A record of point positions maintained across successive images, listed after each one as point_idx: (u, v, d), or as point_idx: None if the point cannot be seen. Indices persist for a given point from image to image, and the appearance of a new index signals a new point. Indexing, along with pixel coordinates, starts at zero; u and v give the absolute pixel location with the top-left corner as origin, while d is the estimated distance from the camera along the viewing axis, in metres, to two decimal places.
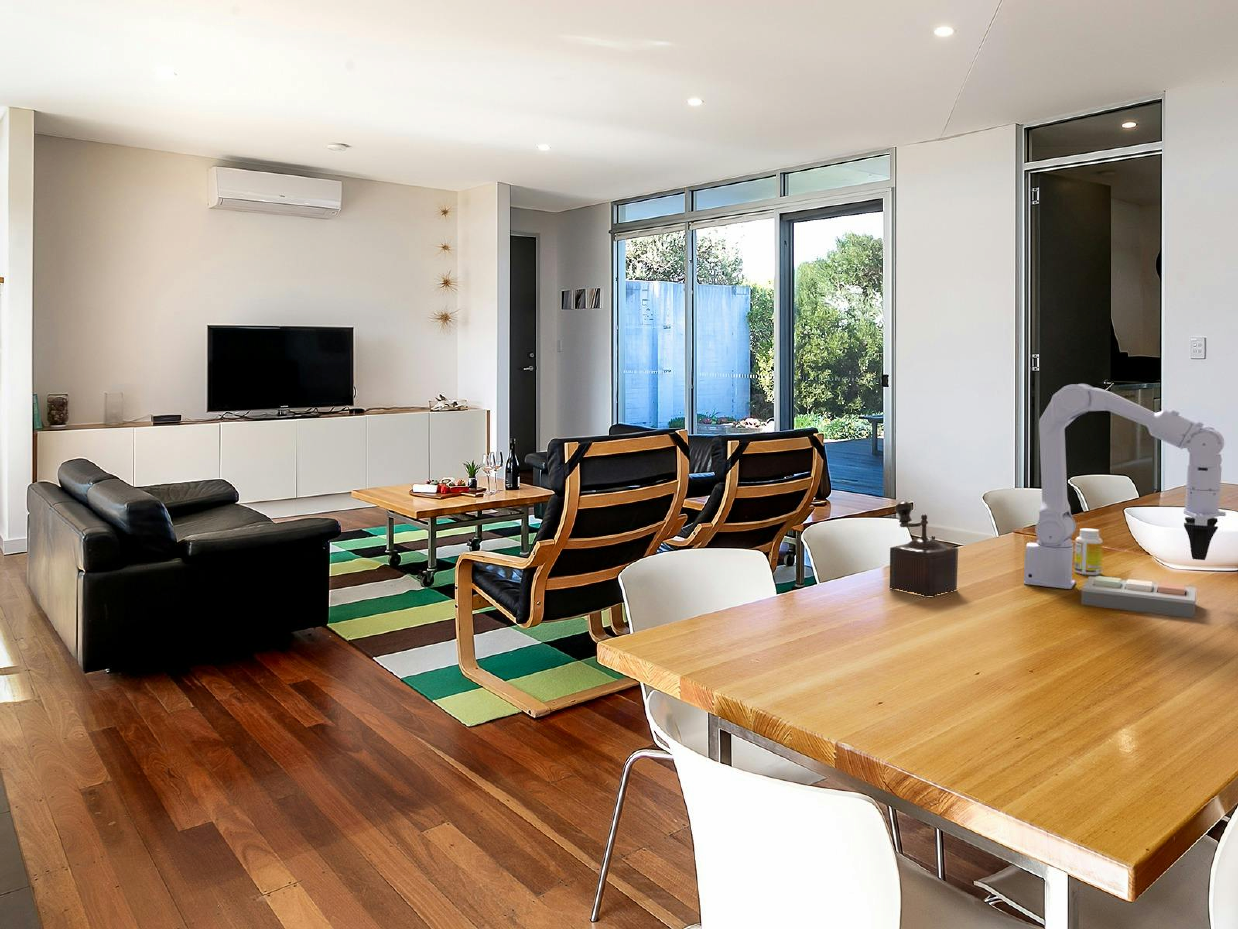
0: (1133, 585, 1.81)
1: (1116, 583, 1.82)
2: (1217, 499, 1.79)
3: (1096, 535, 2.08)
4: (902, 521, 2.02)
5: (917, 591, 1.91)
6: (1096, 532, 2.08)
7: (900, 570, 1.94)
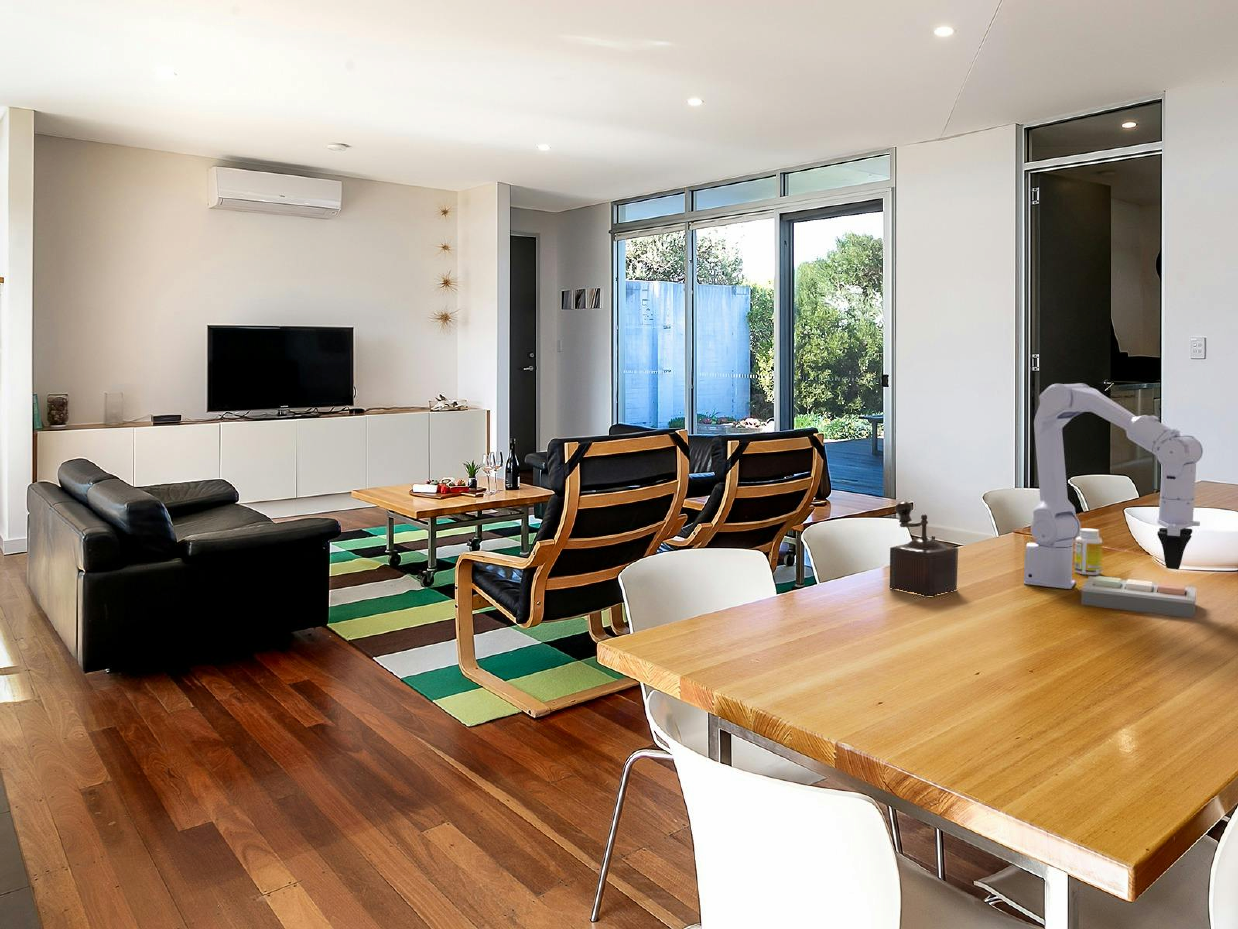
0: (1133, 585, 1.81)
1: (1116, 583, 1.82)
2: (1191, 509, 1.75)
3: (1096, 535, 2.08)
4: (902, 521, 2.02)
5: (917, 591, 1.91)
6: (1096, 531, 2.08)
7: (900, 570, 1.94)
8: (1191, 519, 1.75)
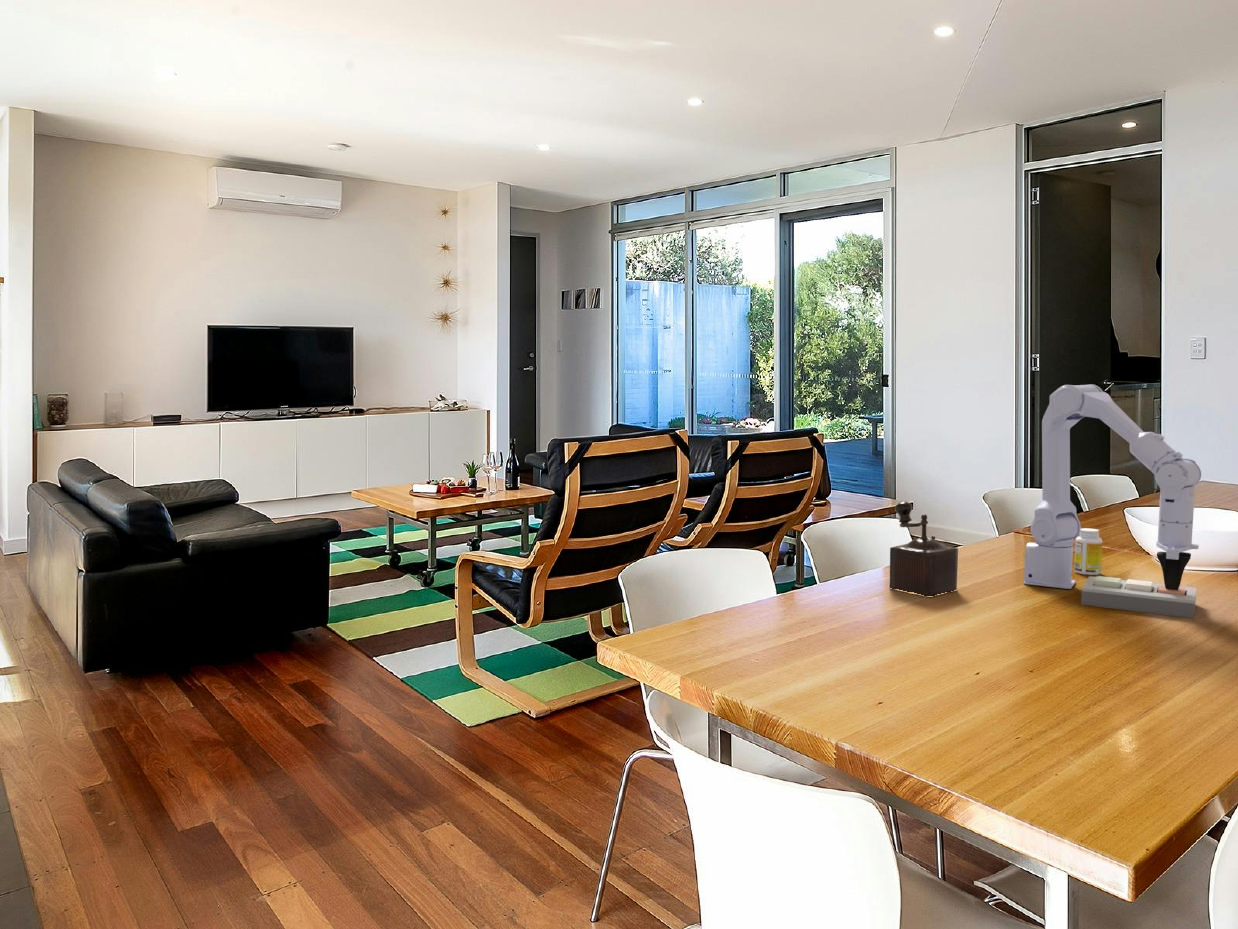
0: (1133, 585, 1.81)
1: (1116, 583, 1.82)
2: (1190, 532, 1.75)
3: (1096, 535, 2.08)
4: (902, 521, 2.02)
5: (917, 591, 1.91)
6: (1096, 531, 2.08)
7: (900, 570, 1.94)
8: (1190, 542, 1.76)
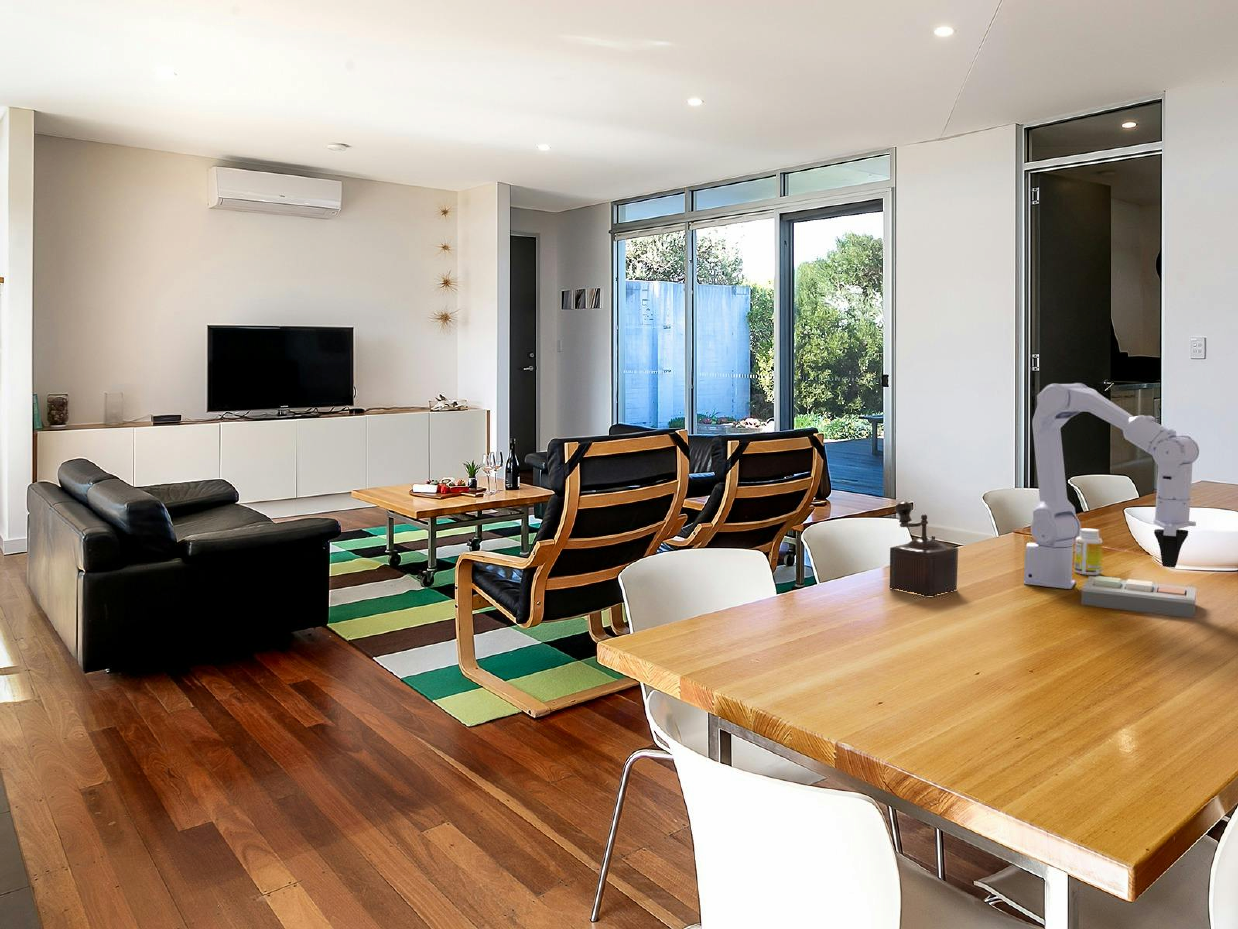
0: (1133, 585, 1.81)
1: (1116, 583, 1.82)
2: (1187, 509, 1.75)
3: (1096, 535, 2.08)
4: (902, 521, 2.02)
5: (917, 591, 1.91)
6: (1096, 531, 2.08)
7: (900, 570, 1.94)
8: (1187, 519, 1.76)
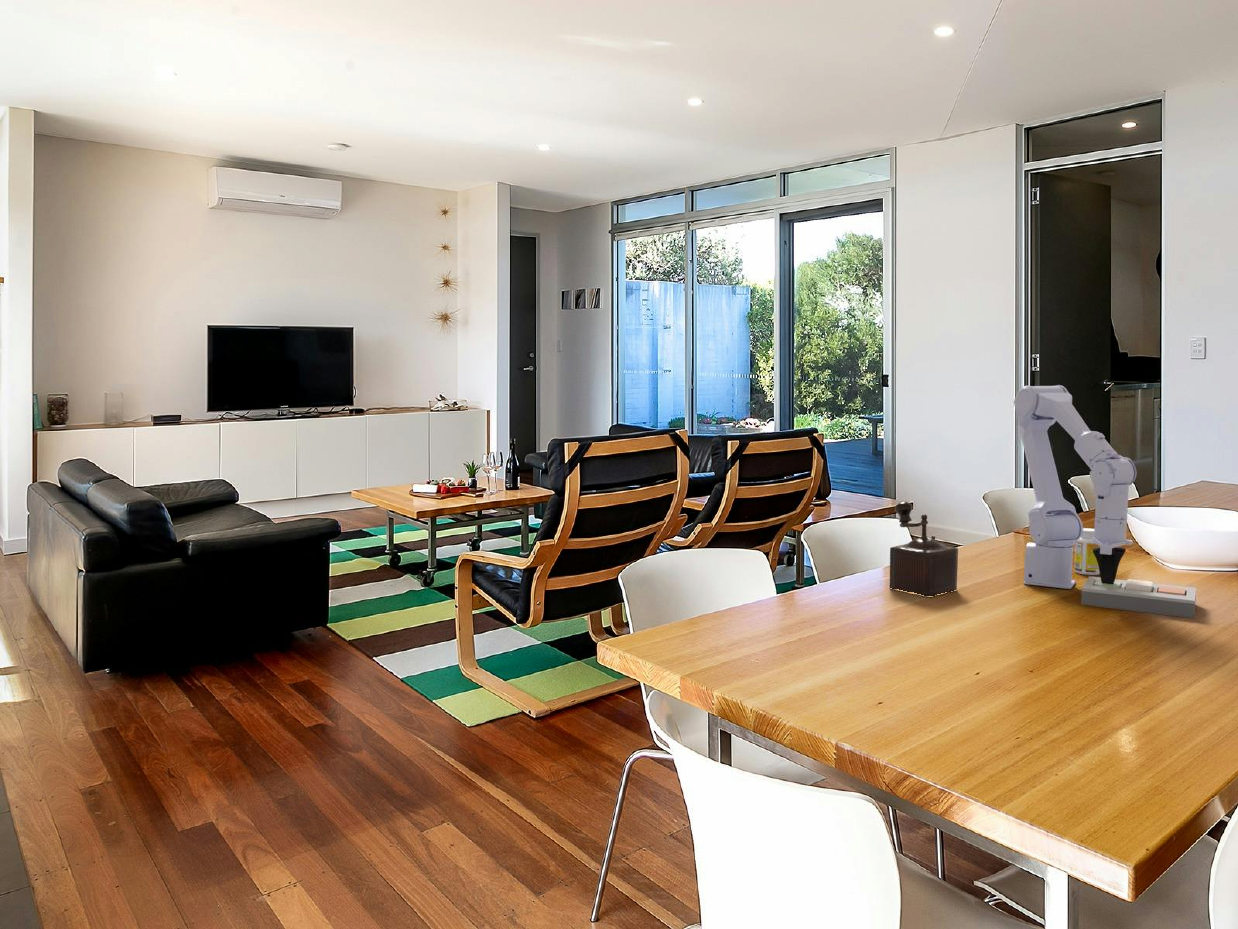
0: (1133, 585, 1.81)
1: (1116, 587, 1.83)
2: (1123, 528, 1.82)
3: None
4: (902, 521, 2.02)
5: (917, 591, 1.91)
6: None
7: (900, 570, 1.94)
8: (1124, 538, 1.82)
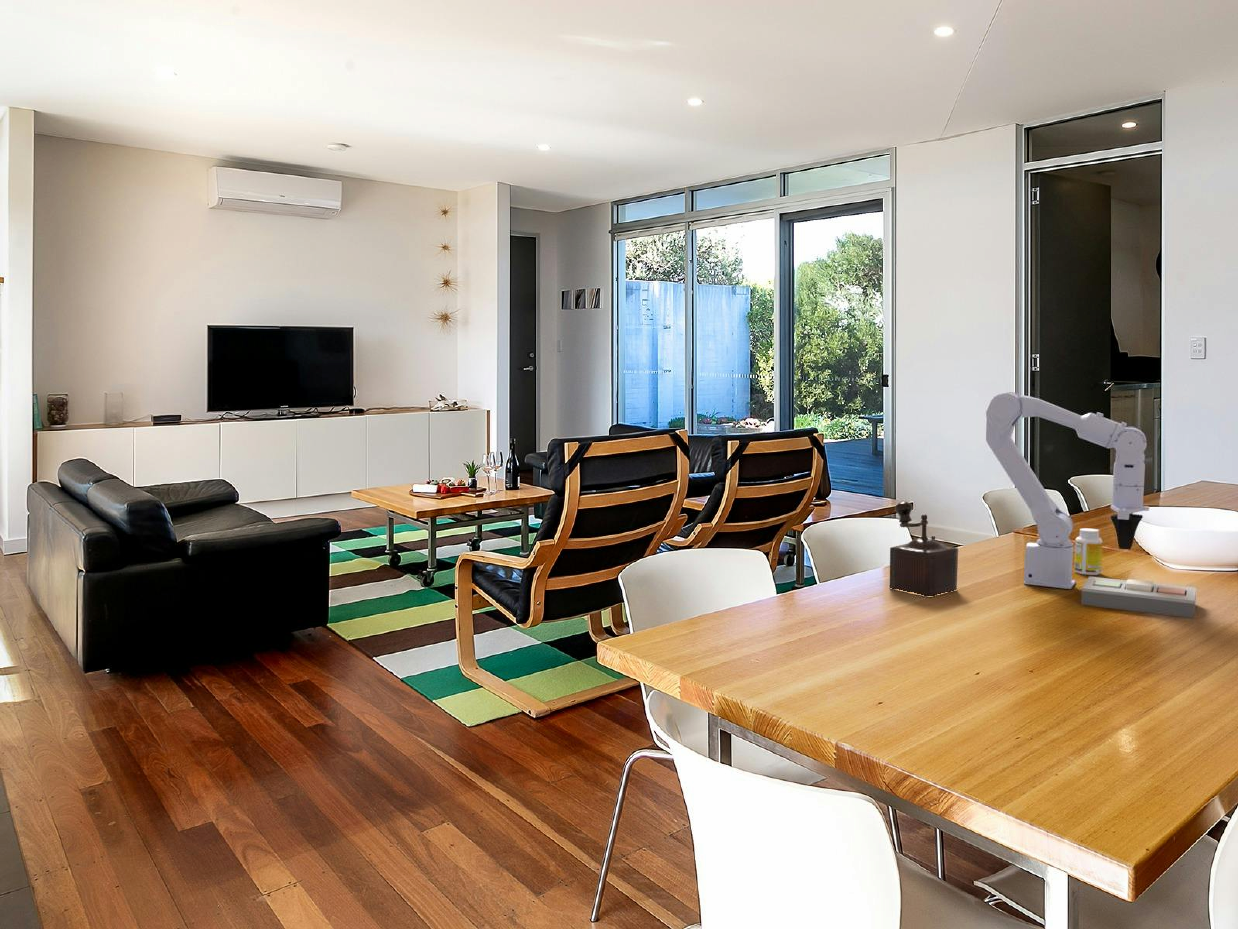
0: (1133, 585, 1.81)
1: (1116, 587, 1.83)
2: (1140, 494, 1.89)
3: (1096, 535, 2.08)
4: (902, 521, 2.02)
5: (917, 591, 1.91)
6: (1096, 532, 2.08)
7: (900, 570, 1.94)
8: (1141, 504, 1.89)
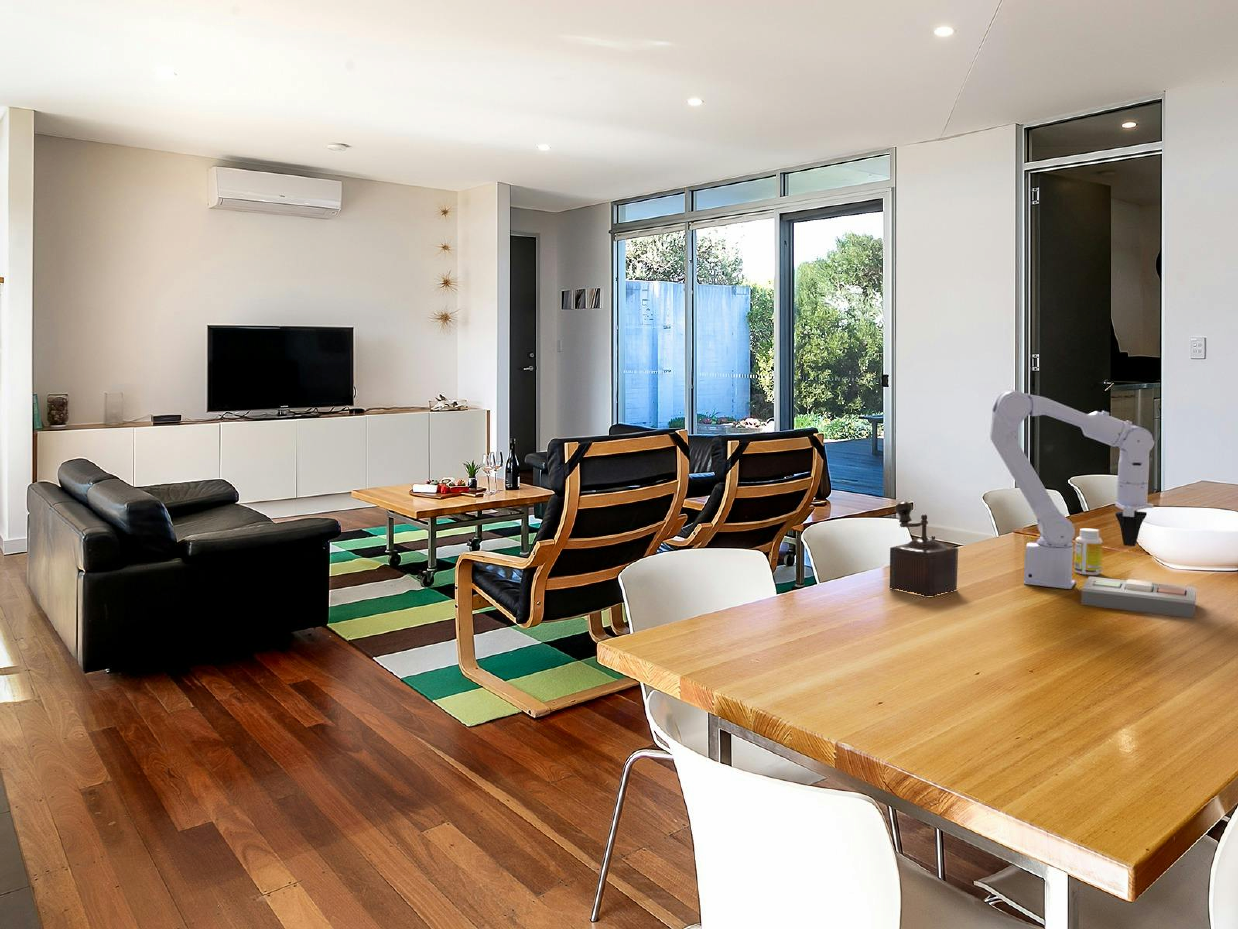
0: (1133, 585, 1.81)
1: (1116, 587, 1.83)
2: (1145, 492, 1.91)
3: (1096, 535, 2.08)
4: (902, 521, 2.02)
5: (917, 591, 1.91)
6: (1096, 532, 2.08)
7: (900, 570, 1.94)
8: (1145, 502, 1.92)
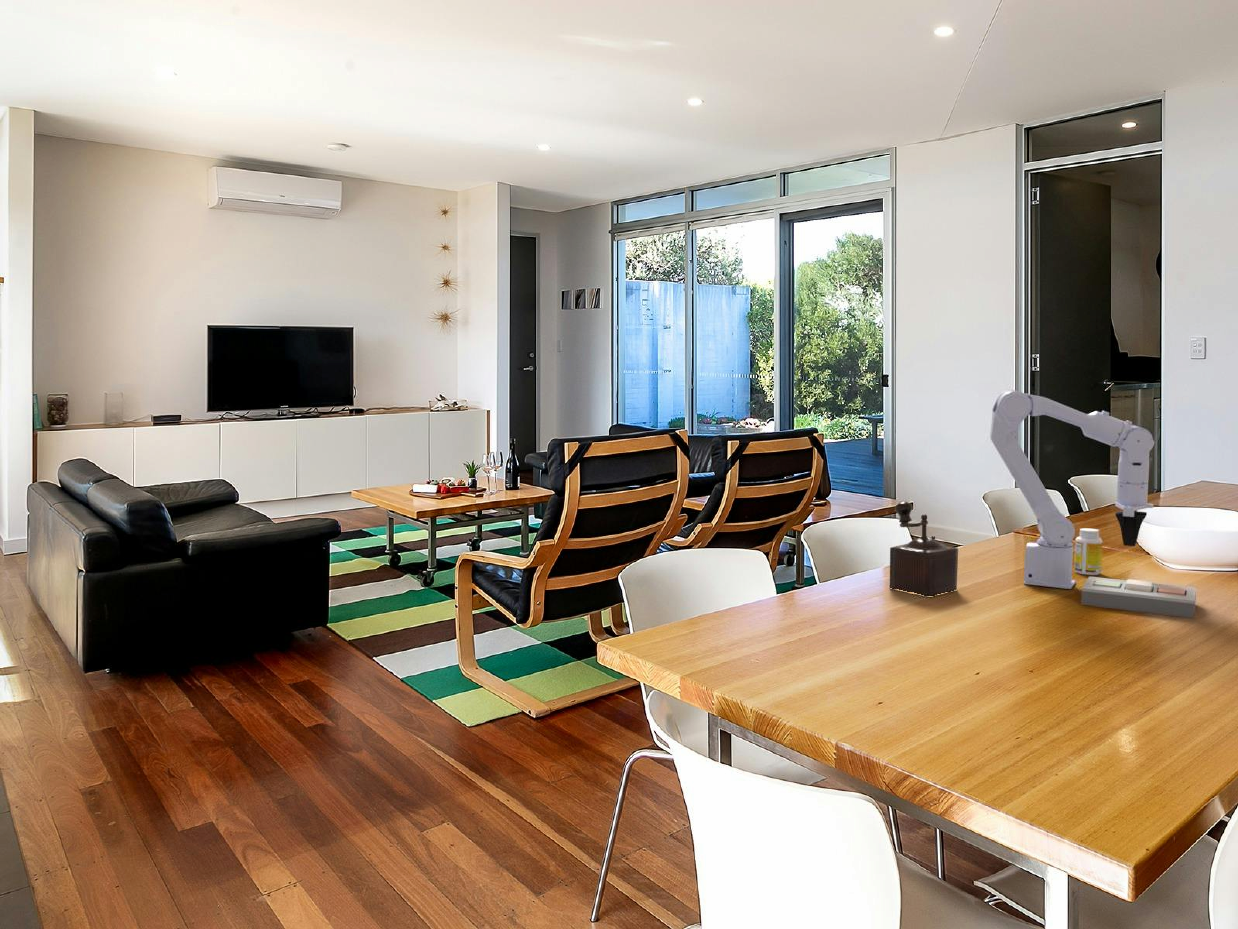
0: (1133, 585, 1.81)
1: (1116, 587, 1.83)
2: (1145, 492, 1.91)
3: (1096, 535, 2.08)
4: (902, 521, 2.02)
5: (917, 591, 1.91)
6: (1096, 532, 2.08)
7: (900, 570, 1.94)
8: (1145, 502, 1.92)
